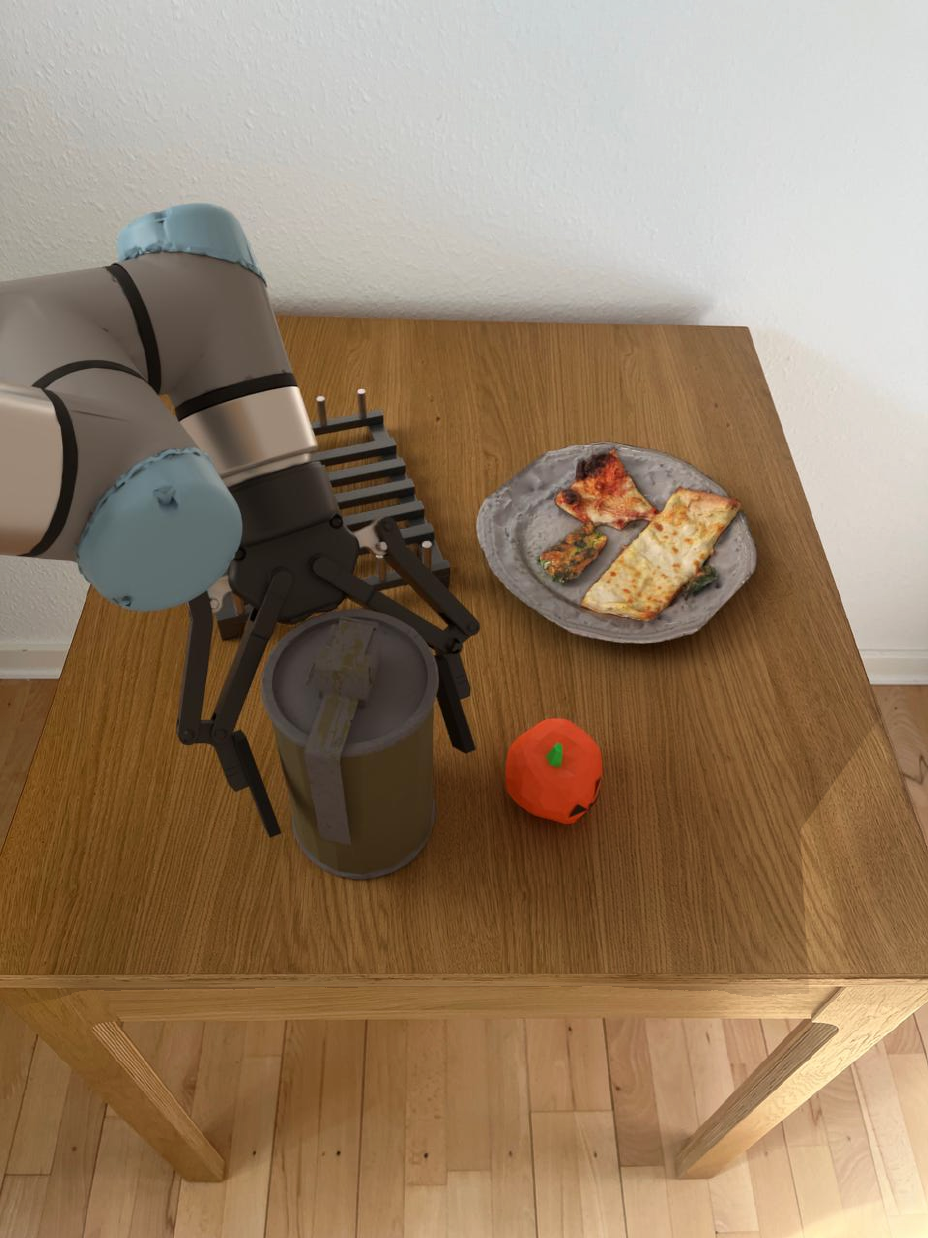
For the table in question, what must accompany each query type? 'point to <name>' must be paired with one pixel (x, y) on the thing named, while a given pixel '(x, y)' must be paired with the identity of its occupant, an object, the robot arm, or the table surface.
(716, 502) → the food plate
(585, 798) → the pumpkin
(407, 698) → the canister
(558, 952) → the table surface
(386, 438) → the dish rack
